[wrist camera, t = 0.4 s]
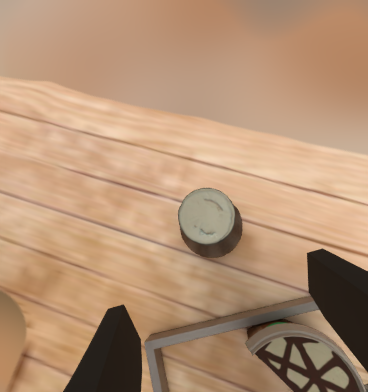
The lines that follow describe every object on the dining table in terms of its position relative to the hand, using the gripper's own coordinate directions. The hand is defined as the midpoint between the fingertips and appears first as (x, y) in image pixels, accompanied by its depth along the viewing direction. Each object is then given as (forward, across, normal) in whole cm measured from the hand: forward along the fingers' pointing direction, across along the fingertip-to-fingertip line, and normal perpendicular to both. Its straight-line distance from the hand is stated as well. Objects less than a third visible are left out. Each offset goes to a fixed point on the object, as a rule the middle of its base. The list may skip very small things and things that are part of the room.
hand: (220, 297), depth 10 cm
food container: (+14, -8, +25) cm, 30 cm away
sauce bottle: (+24, -3, +13) cm, 27 cm away
